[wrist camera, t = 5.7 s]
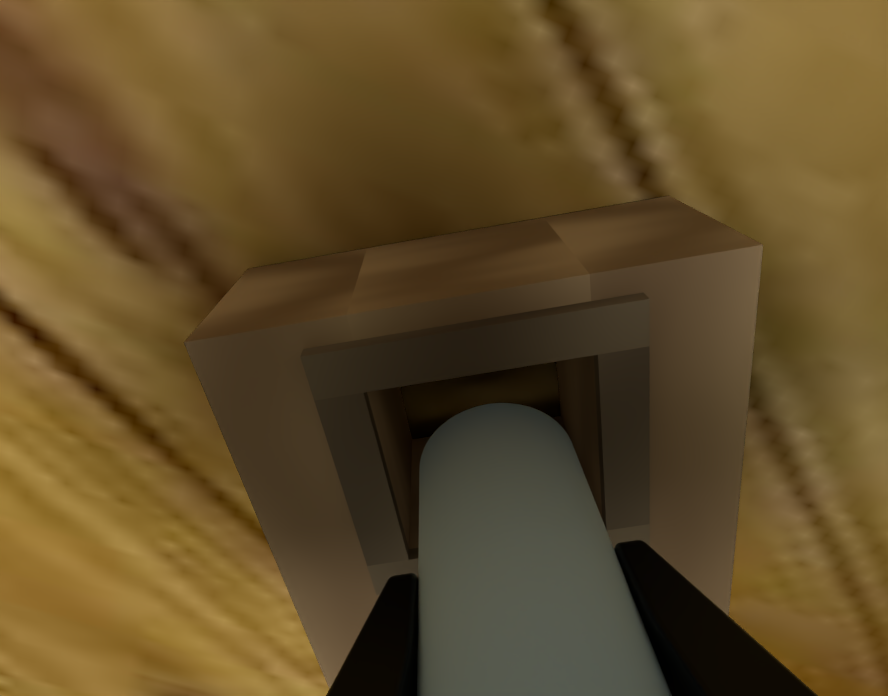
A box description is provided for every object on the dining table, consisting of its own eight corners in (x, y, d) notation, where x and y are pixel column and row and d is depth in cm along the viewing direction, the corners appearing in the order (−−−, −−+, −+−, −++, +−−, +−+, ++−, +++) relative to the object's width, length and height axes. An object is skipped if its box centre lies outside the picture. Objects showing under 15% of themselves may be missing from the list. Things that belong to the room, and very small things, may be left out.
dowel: (580, 516, 11) (848, 1281, 4) (434, 537, 11) (451, 1312, 4) (569, 391, 10) (938, 1200, 3) (405, 417, 10) (359, 1250, 3)
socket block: (668, 195, 13) (772, 249, 9) (662, 605, 19) (723, 740, 15) (248, 269, 13) (177, 350, 9) (376, 646, 20) (365, 787, 16)
